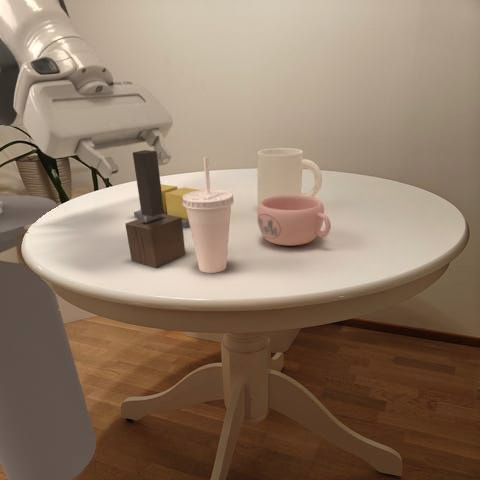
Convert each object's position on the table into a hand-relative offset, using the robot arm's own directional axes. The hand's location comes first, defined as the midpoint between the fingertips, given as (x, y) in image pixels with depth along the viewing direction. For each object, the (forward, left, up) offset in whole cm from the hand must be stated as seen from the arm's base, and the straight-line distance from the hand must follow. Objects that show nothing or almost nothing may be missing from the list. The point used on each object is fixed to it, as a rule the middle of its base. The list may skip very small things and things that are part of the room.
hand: (140, 167), depth 55 cm
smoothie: (+10, -1, -12) cm, 16 cm away
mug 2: (+18, +12, -12) cm, 25 cm away
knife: (+1, 0, -12) cm, 12 cm away
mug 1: (+12, +30, -12) cm, 34 cm away
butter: (-7, +19, -12) cm, 23 cm away
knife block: (+1, 0, -12) cm, 12 cm away
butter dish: (-7, +19, -12) cm, 23 cm away
